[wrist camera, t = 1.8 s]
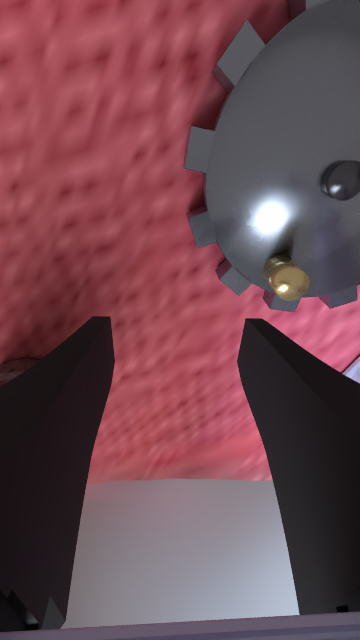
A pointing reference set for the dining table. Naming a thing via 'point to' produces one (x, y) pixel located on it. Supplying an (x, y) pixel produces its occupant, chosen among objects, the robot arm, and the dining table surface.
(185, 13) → the dining table surface
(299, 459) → the robot arm
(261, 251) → the sprocket
